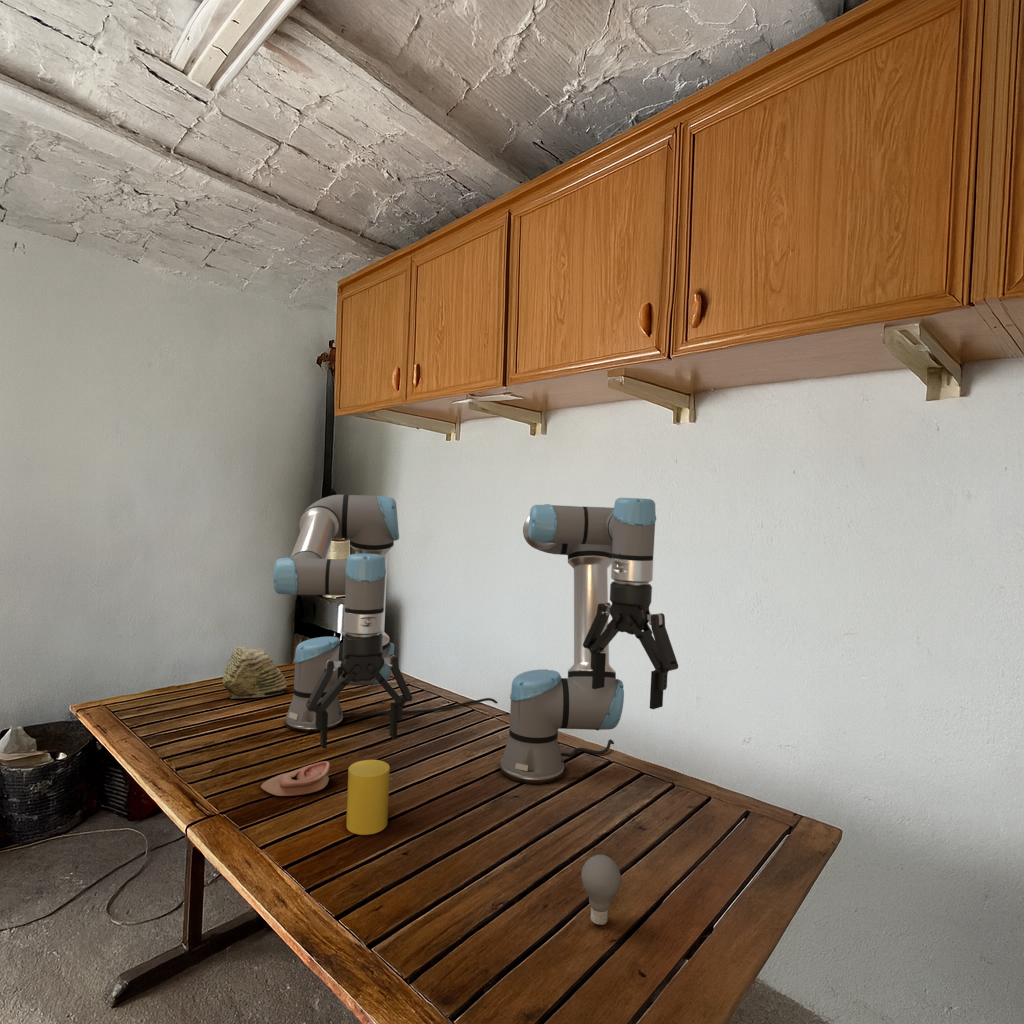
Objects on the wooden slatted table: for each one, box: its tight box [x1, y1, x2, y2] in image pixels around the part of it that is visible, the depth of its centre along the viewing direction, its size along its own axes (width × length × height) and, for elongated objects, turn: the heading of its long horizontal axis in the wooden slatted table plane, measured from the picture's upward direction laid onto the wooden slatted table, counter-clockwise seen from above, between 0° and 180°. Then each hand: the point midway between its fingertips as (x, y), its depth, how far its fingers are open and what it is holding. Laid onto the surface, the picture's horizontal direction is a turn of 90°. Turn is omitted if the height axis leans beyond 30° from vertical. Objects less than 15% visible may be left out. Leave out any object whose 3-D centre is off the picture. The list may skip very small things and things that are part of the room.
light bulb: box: [580, 854, 622, 926], centre depth 97 cm, size 6×6×10 cm
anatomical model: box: [260, 760, 331, 797], centre depth 138 cm, size 13×4×12 cm
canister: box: [345, 759, 391, 836], centre depth 123 cm, size 8×8×11 cm
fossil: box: [222, 646, 288, 699], centre depth 198 cm, size 9×18×15 cm, turn 132°
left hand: (359, 741), depth 124 cm, fingers open, 13 cm apart
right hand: (625, 697), depth 116 cm, fingers open, 13 cm apart
